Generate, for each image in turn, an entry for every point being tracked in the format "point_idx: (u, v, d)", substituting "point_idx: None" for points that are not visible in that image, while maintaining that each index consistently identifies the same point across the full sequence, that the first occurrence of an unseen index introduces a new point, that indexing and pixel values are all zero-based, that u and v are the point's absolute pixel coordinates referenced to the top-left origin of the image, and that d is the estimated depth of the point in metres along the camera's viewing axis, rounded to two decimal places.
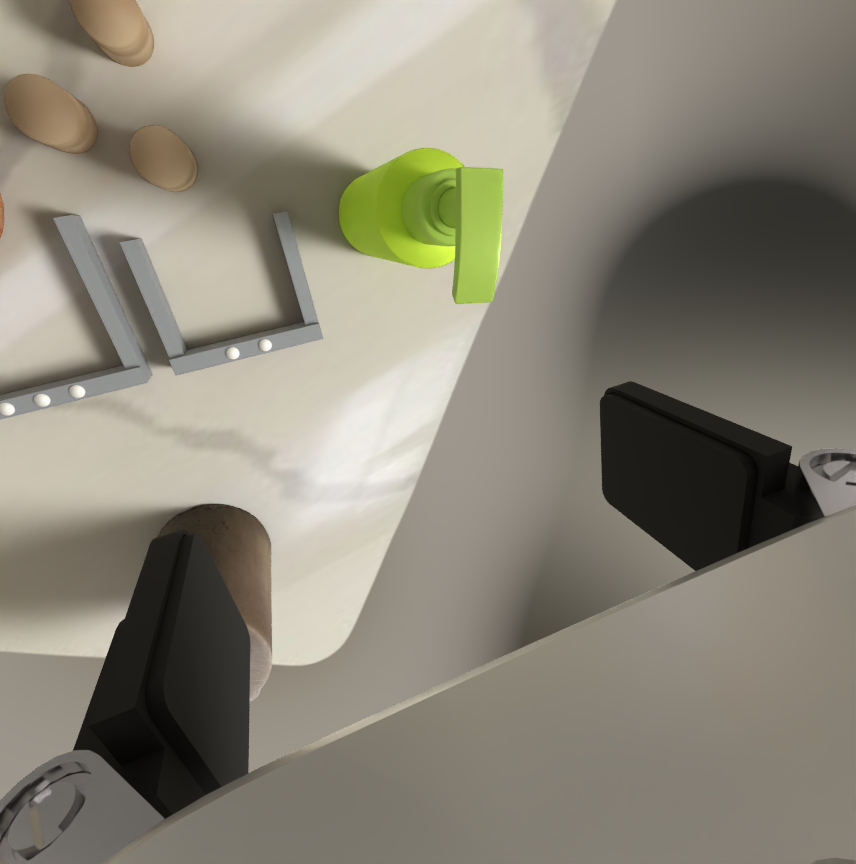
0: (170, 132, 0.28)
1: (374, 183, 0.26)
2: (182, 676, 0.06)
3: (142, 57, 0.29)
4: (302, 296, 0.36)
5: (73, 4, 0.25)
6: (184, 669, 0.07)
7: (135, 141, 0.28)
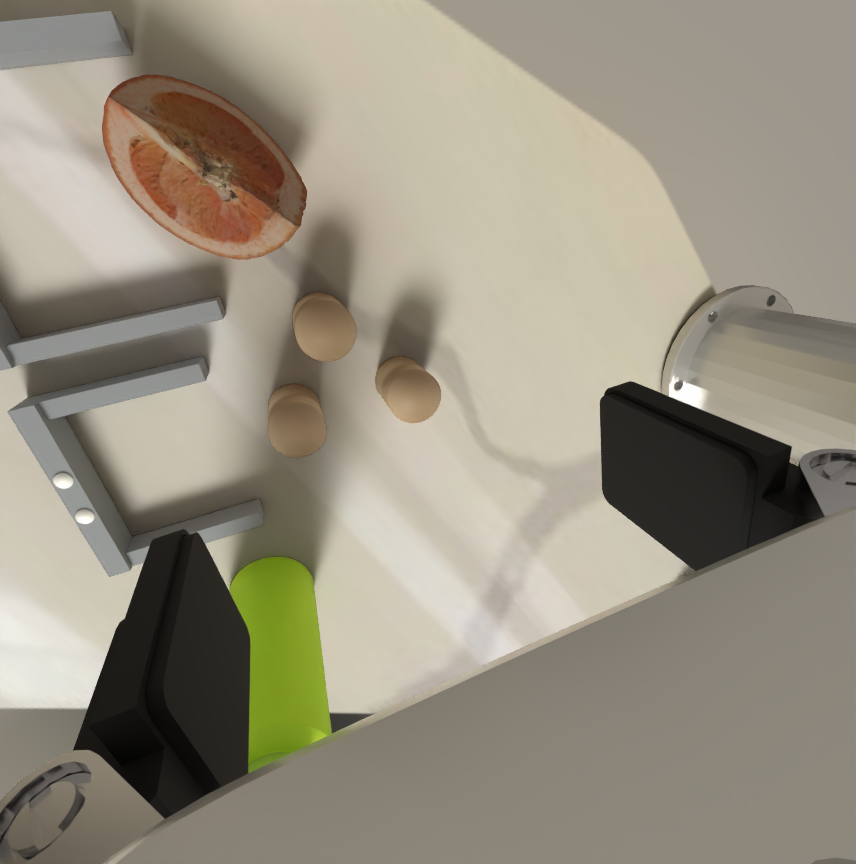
0: (322, 441, 0.27)
1: (294, 694, 0.24)
2: (182, 676, 0.06)
3: None
4: None
5: (414, 374, 0.27)
6: (184, 669, 0.07)
7: (309, 411, 0.26)
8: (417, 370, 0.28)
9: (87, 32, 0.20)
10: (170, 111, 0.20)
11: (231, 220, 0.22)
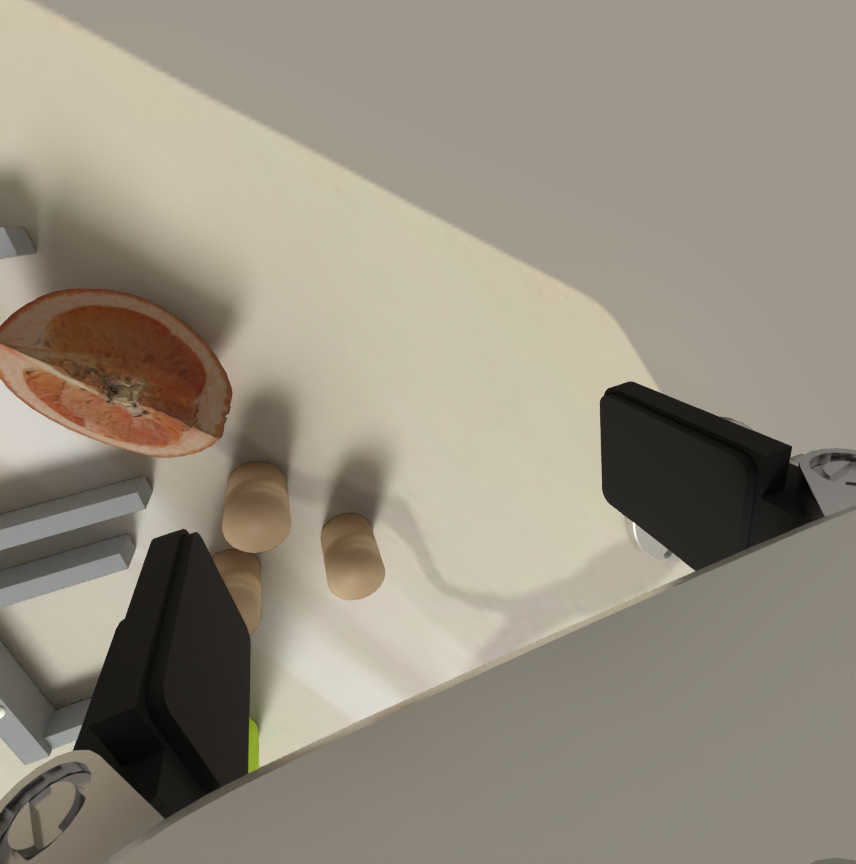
0: (257, 623, 0.25)
1: None
2: (182, 676, 0.06)
3: None
4: None
5: (353, 556, 0.26)
6: (184, 669, 0.07)
7: (240, 597, 0.25)
8: (357, 551, 0.26)
9: None
10: (69, 337, 0.18)
11: (145, 431, 0.20)
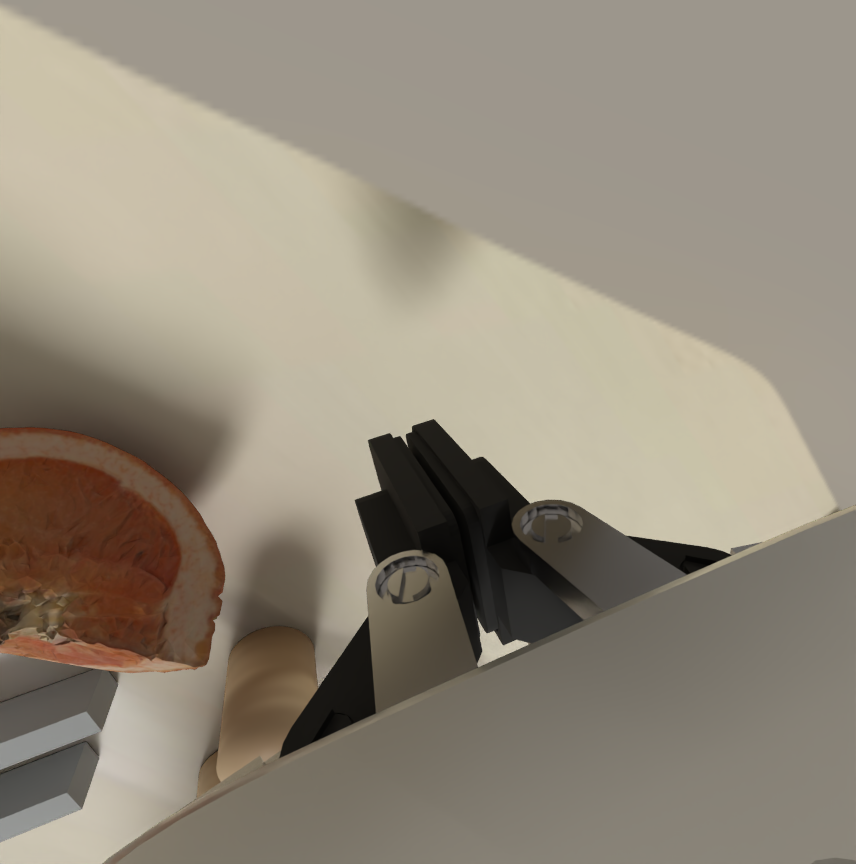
0: None
1: None
2: None
3: None
4: None
5: None
6: None
7: None
8: None
9: None
10: None
11: (81, 656, 0.12)
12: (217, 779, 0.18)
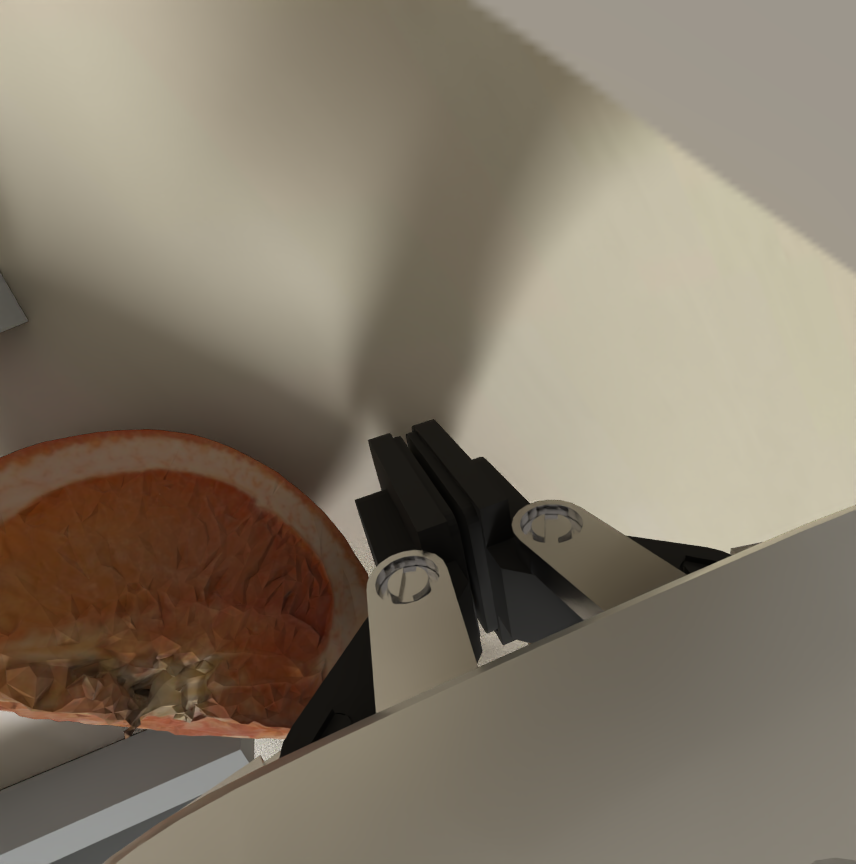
0: None
1: None
2: None
3: None
4: None
5: None
6: None
7: None
8: None
9: None
10: (22, 589, 0.07)
11: (211, 730, 0.09)
12: None
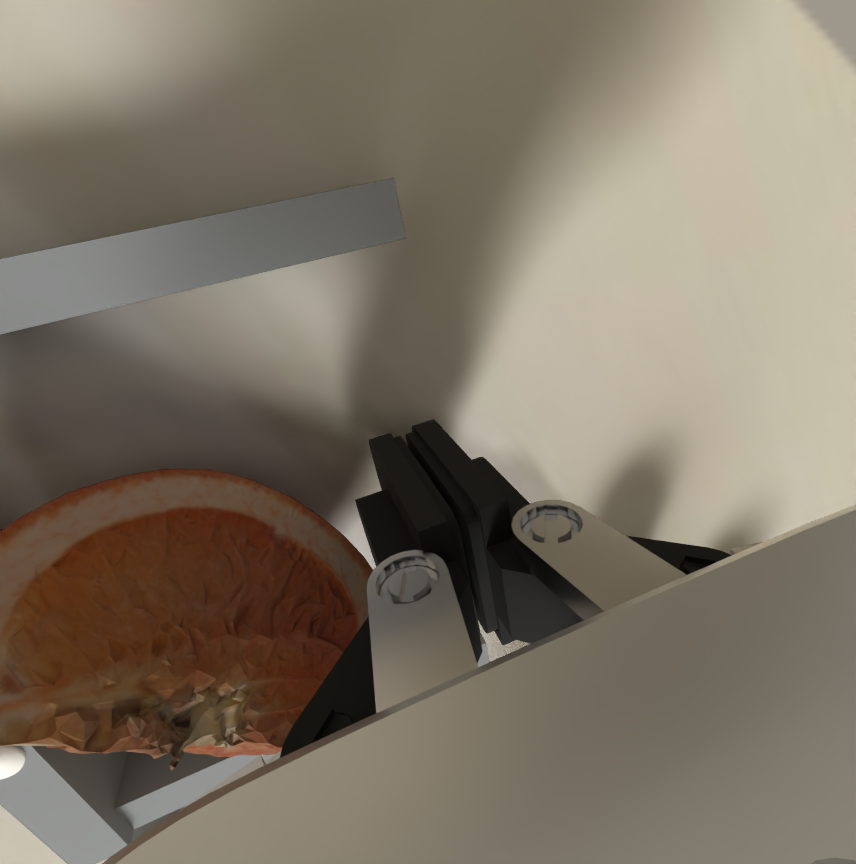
0: None
1: None
2: None
3: None
4: None
5: None
6: None
7: None
8: None
9: (337, 230, 0.08)
10: (64, 639, 0.07)
11: (249, 752, 0.10)
12: None
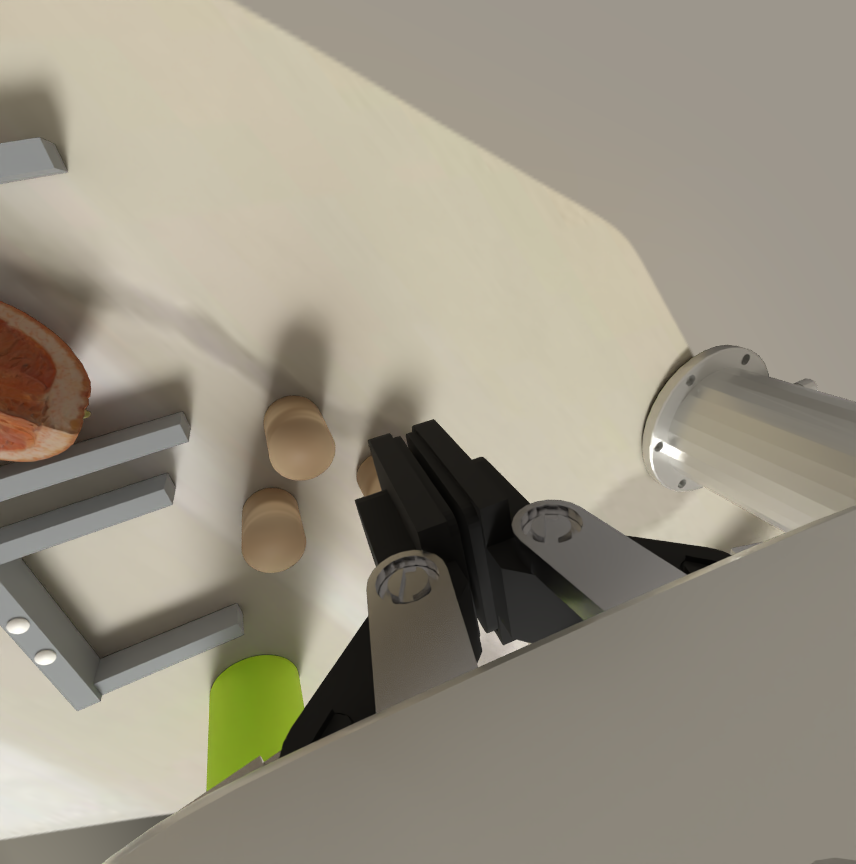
0: (294, 524, 0.25)
1: None
2: None
3: None
4: (137, 671, 0.27)
5: None
6: None
7: (253, 531, 0.24)
8: None
9: (12, 162, 0.17)
10: None
11: None
12: None
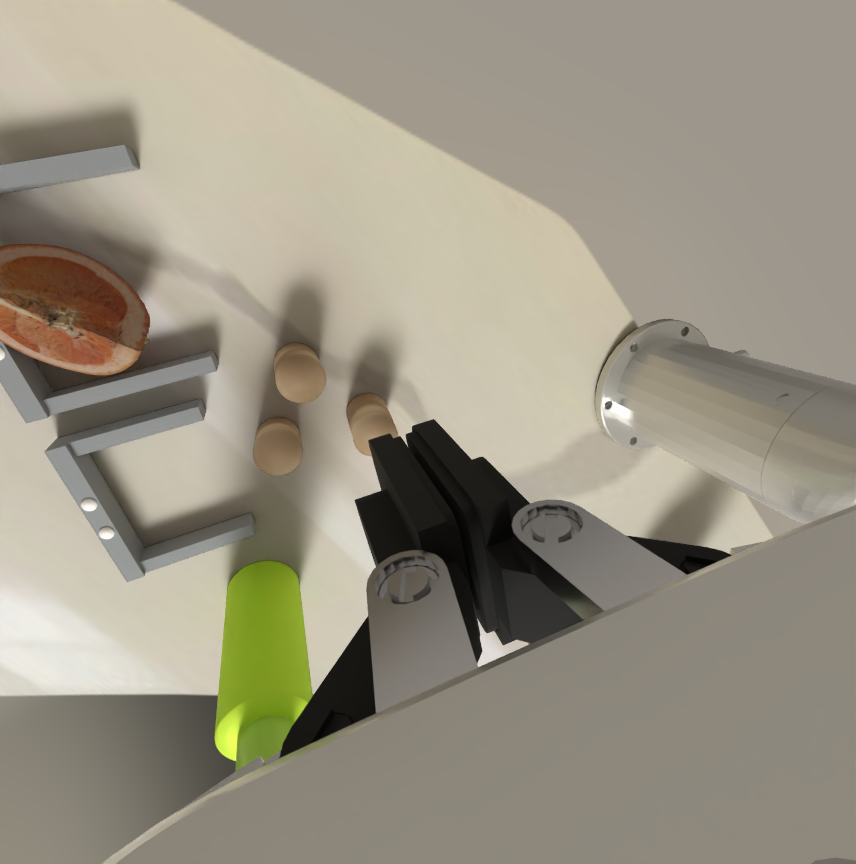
0: (281, 431, 0.32)
1: (282, 671, 0.30)
2: None
3: None
4: (172, 555, 0.35)
5: (360, 449, 0.34)
6: None
7: (256, 450, 0.32)
8: None
9: (106, 161, 0.25)
10: (14, 278, 0.24)
11: (85, 350, 0.27)
12: None
